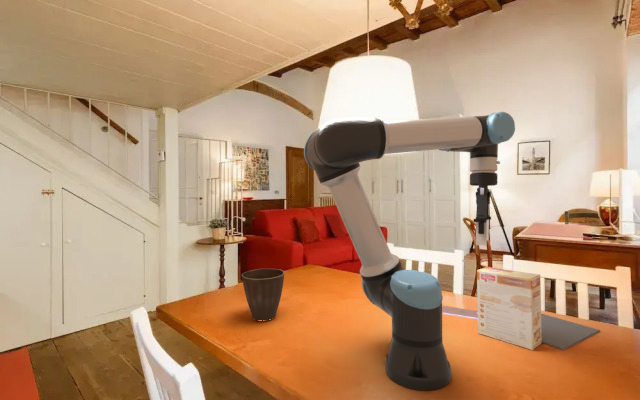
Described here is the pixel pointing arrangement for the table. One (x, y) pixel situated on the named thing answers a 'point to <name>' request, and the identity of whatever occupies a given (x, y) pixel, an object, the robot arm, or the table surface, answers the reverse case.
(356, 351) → the table surface
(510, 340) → the coffeecake box
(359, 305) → the table surface
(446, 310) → the mobile phone
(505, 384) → the table surface
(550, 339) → the placemat
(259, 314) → the plant pot
